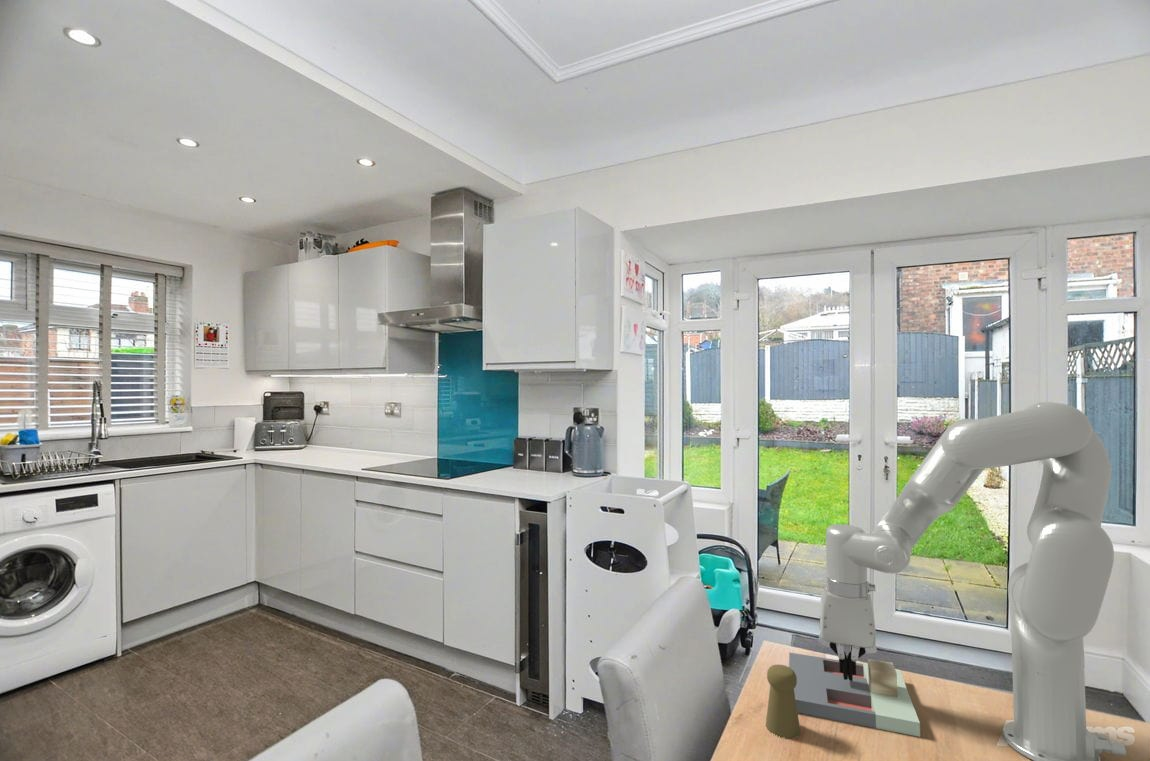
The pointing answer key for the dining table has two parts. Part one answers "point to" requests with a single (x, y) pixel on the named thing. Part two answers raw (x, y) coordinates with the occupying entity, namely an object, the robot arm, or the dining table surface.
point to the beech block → (882, 678)
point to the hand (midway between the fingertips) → (847, 676)
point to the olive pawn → (782, 702)
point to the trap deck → (850, 696)
